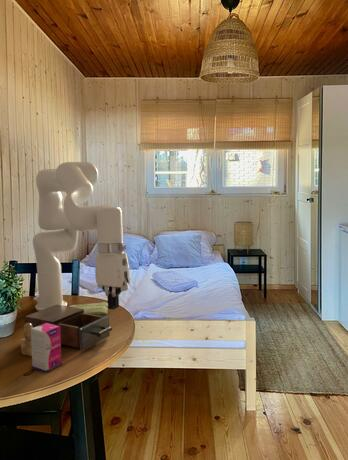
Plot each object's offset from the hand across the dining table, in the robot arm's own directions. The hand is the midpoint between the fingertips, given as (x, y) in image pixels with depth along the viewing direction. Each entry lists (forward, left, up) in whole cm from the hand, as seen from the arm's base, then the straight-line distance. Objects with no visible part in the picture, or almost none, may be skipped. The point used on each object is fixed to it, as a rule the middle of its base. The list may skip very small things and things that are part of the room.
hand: (113, 308), depth 127 cm
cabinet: (-24, 0, -13) cm, 28 cm away
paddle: (-21, -14, -13) cm, 29 cm away
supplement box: (-10, -18, -13) cm, 25 cm away
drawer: (-11, 0, -12) cm, 16 cm away
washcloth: (-30, +22, -13) cm, 40 cm away
